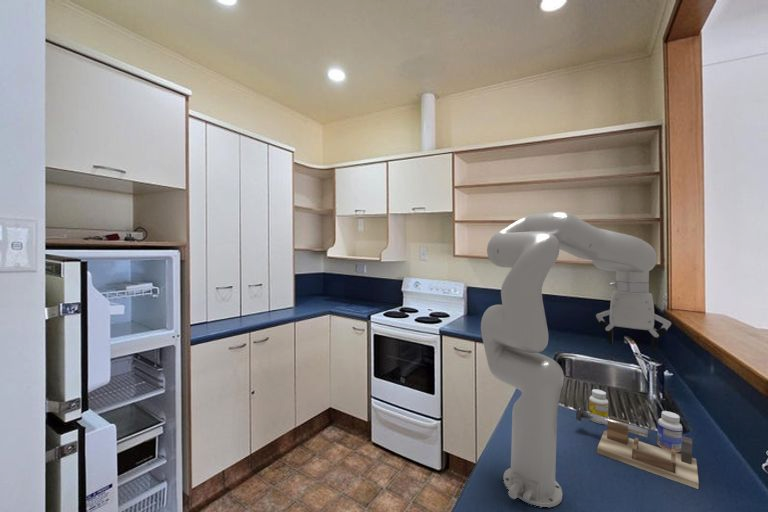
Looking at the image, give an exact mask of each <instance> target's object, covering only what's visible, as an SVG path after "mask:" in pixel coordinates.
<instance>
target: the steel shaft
mask: <svg viewBox="0 0 768 512" xmlns="http://www.w3.org/2000/svg"><path fill="white" fill-rule="evenodd" d="M575 418H576V421H577V422H583V419H586V420H589V421H591V422H593V421H595V422H594V423H596V422H598V423H597V424H599V423H602V424H601V425H605V426H608V420H609V421H612V422H616V423H619V424H623V425H626V426H628V432H629V433H631V434H634V435H638V436H642V437H645V438H649V437H648V435H649V429H647V428H643V427H640V426H637V425H633V424H630V423H629V424H626V423H623V422H620V421H616V420H613V419H609V417H608V418H606V417H602V416H599V415H596V414H592V413H589V411H586V410H585V409H584V406H583V405H577V408H576V415H575Z"/></svg>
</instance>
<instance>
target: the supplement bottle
mask: <svg viewBox="0 0 768 512" xmlns="http://www.w3.org/2000/svg"><path fill="white" fill-rule="evenodd" d="M588 402H589V404H588V412H589V413H592V414H596V415H599V416H602V417H606V418H609V400H608V399H607V392H605V391H603V390H601V389H598V388H597V389H595V388H594V389H592V390H591V395H590V396H589V398H588ZM592 422H594V423H596V424H598V425H599V424H600V425H603V424H602V423H598V422H595V421H592Z"/></svg>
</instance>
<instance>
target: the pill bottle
mask: <svg viewBox="0 0 768 512" xmlns="http://www.w3.org/2000/svg"><path fill="white" fill-rule="evenodd" d="M680 419H681V417H680V415H679V414H677V413H675V412H672V411H667V410H663V411H661V417H660V418H658V420H657V429H656V430H657V432H656V433H657V435H656V444H657V446H658V447H659V448H662V449H666V450H669V451H671V450H672V449H674V450H676V453H681V446H682V436H683V426H682V423H680V421H681V420H680Z"/></svg>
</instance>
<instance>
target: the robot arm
mask: <svg viewBox="0 0 768 512" xmlns="http://www.w3.org/2000/svg"><path fill="white" fill-rule="evenodd" d="M560 251H563V252H565V253H568V254H570V255H572V256H574V257H577V258H578V259H583V260H588V261H591V262H592V264H593V265H594V267H596V268H597V269H599V270H602V271H606V272H615V282H609V287H610V288H614V289H615V290H613V291H612V293H611V298H610V304H609V305H610V307H609V309H608V310H607V309H606V310H604V311H601V312H599V313H596V315H595V317H596V319H597V321H598V322H599V324H600V326H602V327H603V329H605V331H606V341H607V342H608V345H609V346H611V345H613V343H614V329H613V328H614V327H619V328H627V329H633V330H643V331H648V332H649V333H650V334H651V335H650V351H651V352H655V349H658V338H659V337H660V336H662V335H663V334H664V333H666V332H667V331H668V329H669V328H670V327H671V325H672V322H671V321H670V320H668V319H666V318H664V317H663V316H660V315H658V314H656V313H655V306H654V298H653V294H652V292H651V293H650V291H649V289H650V283H649V282H650V280H649V279H650V271H652V270H653V269H654V267H655V266H656V264H657V262H658V261H657V260H658V258H657V253H656V250H655V249H654V247H653V246H652V245H651V244H650V243H648V242H647V241H645V240H643V239H641V238H639V237H636V236H634V235H630V234H627V233H622V232H617V231H613V230H608V229H604V228H598V227H596V226H594V225H592V224H591V223H588V222H586V221H585V220H583V219H581V218H579V217H577V216H575V215H574V214H572V213H569V212H565V211H559V210H558V211H550V212H549V211H548V212H539V213H538V212H537V213H532V214H531V213H530V214H528V215H525V216H523V217H521V218H519V219H517V220H516V221H514V222H512V223H511V224H509V225H508V226H506V227H504V228H503V229H501V230H500V231H498V232H496V233H495V234H494V235H493V236H492V237H491V238H490V240H489V241H488V244H487V246H486V254H487V257H488V259H489V261H490V262H491V264H493V265H495V266H497V267H499V268H500V267H501V268H509V269H510V271H508V273H507V274H506V276H505V278H504V280H503V282H502V285H501V289H500V296H501V304H494V305H491V306H489V307H488V308H487V309H486V310H485V311H484V313H483V315H482V317H481V322H480V331H481V332H480V333H481V338H482V342H483V346H484V347H483V348H484V351H485V352H484V353H485V355H486V356H485V357H486V361H487V365H488V368H489V371H490V372H491V374H492V375H493V377H495V378H496V379H497V380H498V381H501V382H503V383H505V384H507V385H510V386H511V387H514V388H515V389H516V390H518V391H520V392H521V394H520V396H519V398H518V399H516V401H515V403H514V404H513V406H512V412H511V413H512V415H511V422H512V423H511V449H510V450H511V452H510V467H509V468H507V469H506V470H504V473H503V478H502V479H503V480H504V481H503V480H502V481H503V485H504V484H505V485H504V487H505V486H506V487H507V488H506V487H505V488H506V490H507V489H508V490H509V491H508V490H507V494H508V496H509V497H510V498H511V499H513V500H516V499H517V497H518V498H520V499H522V500H524V501H526V502H528V503H531V504H534V505H536V506H540V507H539V508H542V507H548V508H552V507H553V508H554V507H556V506H559V504H560V503H561V502H562V501H563V489H562V486H561V485H560V484H559V482H558V481H557V480H556V464H557V463H556V462H557V438H558V437H557V434H558V433H557V432H558V431H557V428H558V427H557V426H558V410H559V402H560V398H561V393H562V389H563V385H564V379H565V374H564V371H563V369H562V367H561V365H560V364H559V363H558V362H557V361H555V359H553V358H551V357H549V356H547V355H545V354H542V353H540V352H543V351H544V350H545V349H546V348H547V346H548V343H549V330H548V324H547V317H546V312H545V306H544V301H543V293H542V292H543V286H544V282H545V280H546V278H547V276H548V274H549V273H550V270H551V269H552V268H553V266H554V265H555V263H556V261H557V260H558V257H559V255H560ZM607 316H609V324H608V322H607V321H605V319H604V318H603V317H607ZM655 321H657V322H659V323H661V324H662V325H661V327H659V328H658V329H656V328H655V327H654V326H655ZM536 506H535V507H536Z"/></svg>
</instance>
